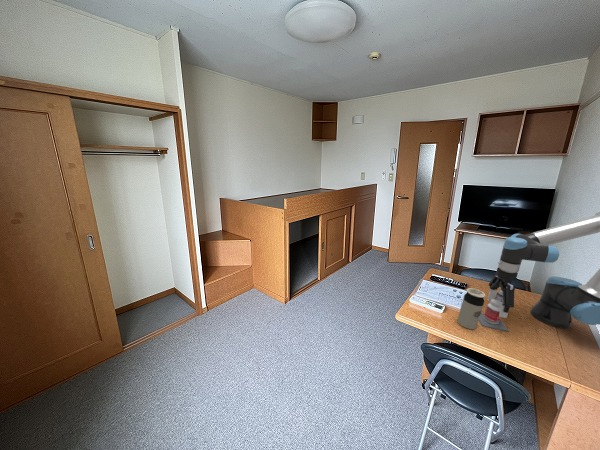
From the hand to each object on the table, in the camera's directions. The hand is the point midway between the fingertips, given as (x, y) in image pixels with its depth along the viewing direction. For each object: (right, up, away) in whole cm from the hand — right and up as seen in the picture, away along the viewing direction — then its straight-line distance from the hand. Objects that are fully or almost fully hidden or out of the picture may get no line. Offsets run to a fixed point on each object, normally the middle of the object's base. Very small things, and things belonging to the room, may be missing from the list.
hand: (496, 308), depth 120 cm
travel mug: (-15, -8, 0) cm, 17 cm away
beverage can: (+10, -6, +11) cm, 16 cm away
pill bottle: (-1, -7, +2) cm, 8 cm away
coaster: (-1, -8, +2) cm, 8 cm away
